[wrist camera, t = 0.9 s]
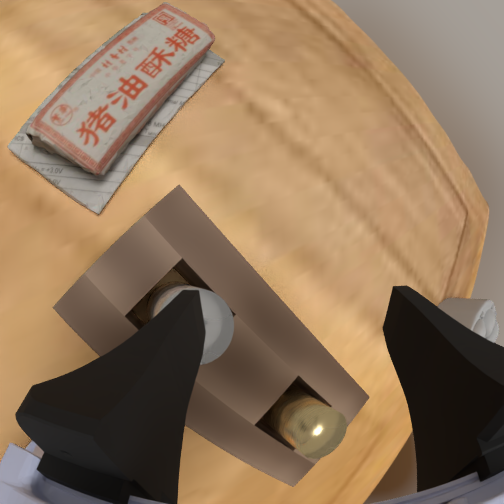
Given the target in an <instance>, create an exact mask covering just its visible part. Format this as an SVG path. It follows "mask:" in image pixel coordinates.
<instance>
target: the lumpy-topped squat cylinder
mask: <svg viewBox="0 0 504 504" xmlns="http://www.w3.org/2000/svg"><path fill="white" fill-rule="evenodd" d="M437 307H438V308H440V309H441V310H442V311H444V312H445V313H446V314H448V315H449V316H451V317H452V318H453V319H455V320H456V321H458V322H459V323H461V324H462V325H464V326H465V327H467V328H468V329H470V330H472V331H473V332H475V333H477V334H479V335H480V336H482V337H484V338H486V339H488V340H490V341H491V342H493V343H495V340H496V339H497V337H498V334H499V326H498V323H497V321H496V315H497V313H496V311H495V305H494V303H493V302H492V301H491V300H487V299H466V298H447V299H445V300H444V301H442V302H441V303H440V304H439V305H438V306H437Z"/></svg>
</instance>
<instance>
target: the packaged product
mask: <svg viewBox="0 0 504 504" xmlns="http://www.w3.org/2000/svg"><path fill="white" fill-rule="evenodd" d="M214 41H215V36H214V34H213V33H212V32H211V31H210V30H209V28H208V26H207V25H206V24H205V23H201V22H199V21H198V20H197V19H195V18H193V17H191V16H189V15H188V14H187V13H186V12H183V11H182V10H180V9H178V8H176V7H174V6H172V5H170V4H169V3H167V2H164V3H163V4H162V5H160V6H159V7H157V8H155V9H154V10H152V11H150V12H149V13H142V14H141V15H140V16H139V17H138V18H137V19H134V20H133V21H132V22H131V23H130V24H128V25H127V26H125V27H124V28H123V29H121V30H120V31H119V32H117V33H116V34H115V35H114V36H112V37H111V38H110V39H109V40H108V41H107V42H105V43H104V44H103V45H102V46H100V47H99V48H98V49H97V50H96V51H95V52H94V53H92V54H91V55H90V56H88V57H87V58H86V59H85V60H84V61H83V62H82V63H81V64H80V65H79V66H78V67H77V68H76V69H74V70H73V71H72V72H71V74H70V75H68V76H67V77H66V79H65V80H64V81H62V82H61V83H60V84H59V86H58V87H57V88H56V89H55V90H54V91H53V92H52V93H51V94H50V95H49V96H48V97H47V98H46V99H45V100H44V101H43V103H42V104H41V105H40V106H39V107H38V108H37V109H36V111H35V112H34V113H33V114H32V115H31V116H30V118H29V119H28V120H27V122H26V123H25V124H24V125H23V126H22V127H21V129H20V131H19V132H18V133H17V134H16V136H15V137H14V138H13V140H12V141H11V142H10V143H9V145H8V148H9V149H10V150H11V151H12V152H13V153H14V154H15V155H16V156H17V157H18V158H19V159H20V160H21V161H23V162H24V163H26V164H27V165H29V166H30V167H32V168H33V169H35V170H36V171H38V172H39V173H40V174H41V175H43V176H44V177H45V178H46V179H47V180H48V181H49V182H50V183H52V184H53V185H54V186H56V187H57V188H58V189H60V190H61V191H62V192H64V193H65V194H66V195H68V196H69V197H70V198H72V199H73V200H74V201H76V202H77V203H79V204H81V205H83V206H85V207H86V208H88V209H90V210H92V211H94V212H95V213H97V214H100V212H101V211H102V209H103V208H104V206H105V205H106V204H107V202H108V201H109V200H110V198H111V197H112V195H113V194H114V193H115V191H116V190H117V189H118V187H119V186H120V185H121V183H122V182H123V181H124V179H125V178H126V177H127V175H128V174H129V173H130V171H131V170H132V168H133V167H134V165H135V164H136V162H137V161H138V159H139V158H140V157H141V155H142V154H143V153H144V151H145V150H146V149H147V148H148V146H149V145H150V144H151V142H152V141H153V140H154V139H155V137H156V136H157V135H158V134H159V132H160V131H161V130H162V129H163V128H164V126H165V125H166V124H167V123H168V122H169V121H170V120H171V119H172V118H173V117H174V116H175V115H176V114H177V113H178V111H179V110H180V109H181V108H182V107H183V105H184V104H185V102H186V101H187V100H188V98H189V97H191V96H192V95H193V94H194V93H195V92H196V91H197V90H198V89H199V88H200V87H201V86H202V85H203V84H204V83H205V82H206V81H207V79H208V78H209V77H210V76H211V75H212V73H213V72H214V71H215V70H216V69H217V68H218V67H219V66H221V65H222V64H223V63H224V62H225V60H224V59H222V58H221V57H219V56H218V55H216V54H215V53H213V52H212V51H211V50H209V49H210V47H211V45H212V44H213V43H214Z"/></svg>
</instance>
